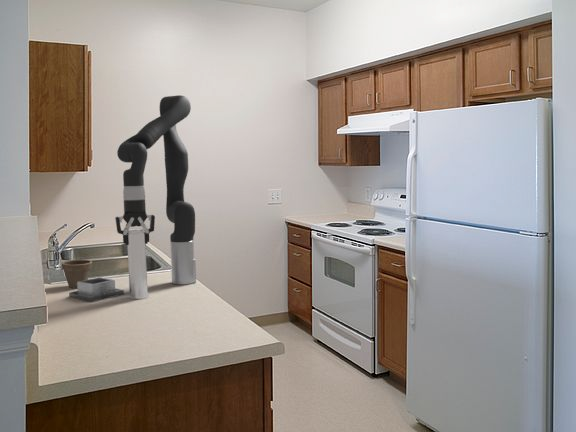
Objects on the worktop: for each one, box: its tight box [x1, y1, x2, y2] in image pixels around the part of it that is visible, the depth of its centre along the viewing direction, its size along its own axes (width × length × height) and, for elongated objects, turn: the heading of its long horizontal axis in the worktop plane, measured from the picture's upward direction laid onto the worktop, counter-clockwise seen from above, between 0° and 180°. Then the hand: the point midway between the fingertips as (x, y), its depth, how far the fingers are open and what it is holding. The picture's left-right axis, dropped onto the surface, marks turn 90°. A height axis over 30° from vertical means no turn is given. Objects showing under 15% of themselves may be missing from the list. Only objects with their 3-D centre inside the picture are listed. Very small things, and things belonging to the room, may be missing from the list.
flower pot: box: [61, 259, 93, 289], centre depth 216 cm, size 12×11×10 cm
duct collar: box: [68, 276, 125, 303], centre depth 201 cm, size 14×14×6 cm
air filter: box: [126, 228, 149, 300], centre depth 196 cm, size 6×6×25 cm
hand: (136, 244), depth 195 cm, fingers closed on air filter, 6 cm apart
